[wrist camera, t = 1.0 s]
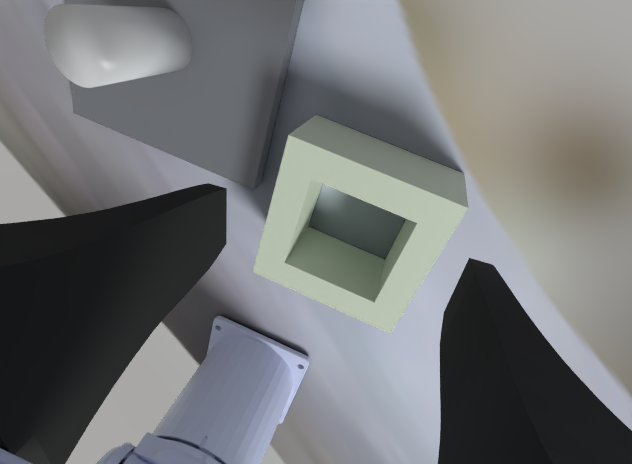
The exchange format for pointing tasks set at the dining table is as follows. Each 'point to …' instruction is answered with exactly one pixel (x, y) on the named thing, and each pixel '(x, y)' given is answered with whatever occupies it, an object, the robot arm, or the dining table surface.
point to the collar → (370, 186)
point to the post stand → (180, 74)
